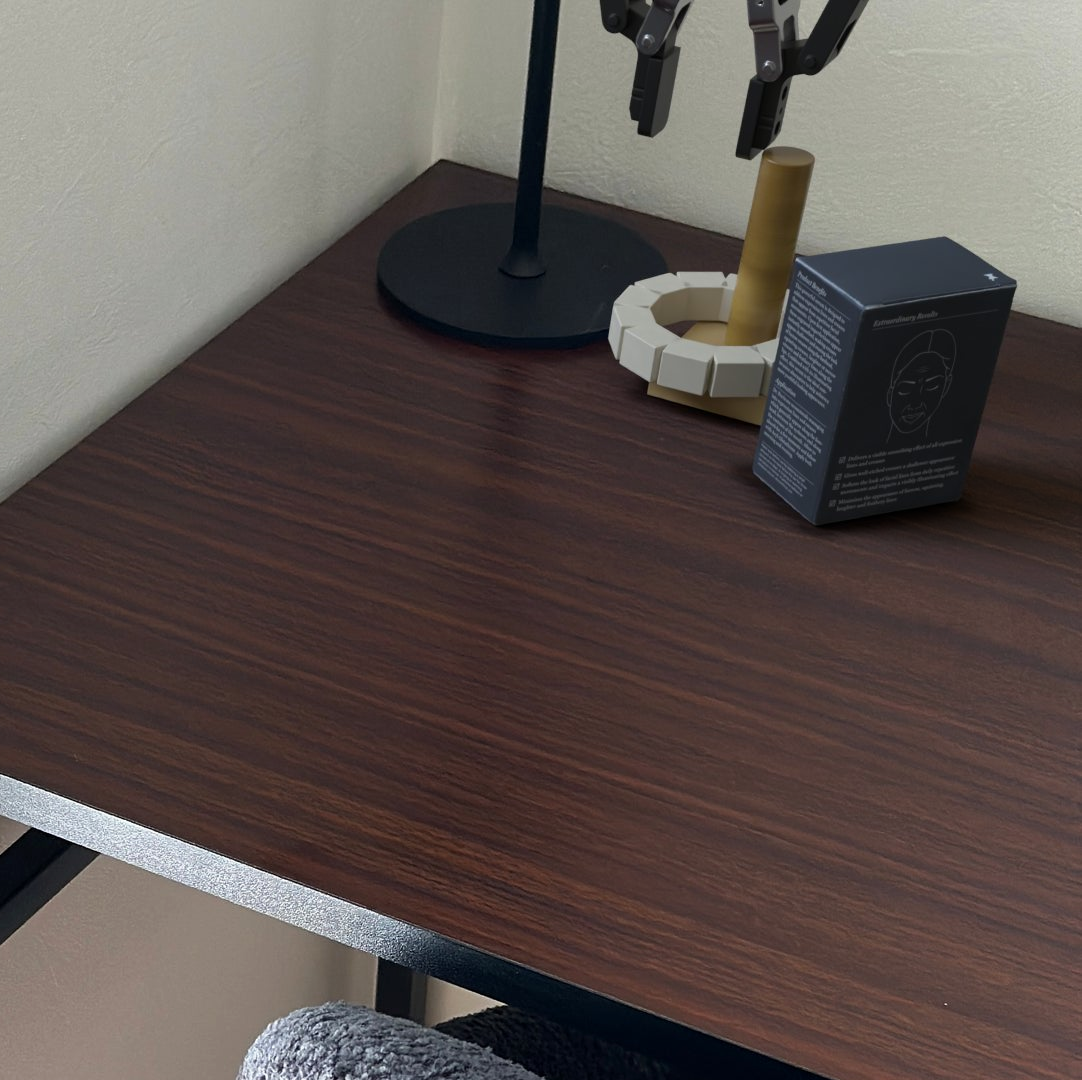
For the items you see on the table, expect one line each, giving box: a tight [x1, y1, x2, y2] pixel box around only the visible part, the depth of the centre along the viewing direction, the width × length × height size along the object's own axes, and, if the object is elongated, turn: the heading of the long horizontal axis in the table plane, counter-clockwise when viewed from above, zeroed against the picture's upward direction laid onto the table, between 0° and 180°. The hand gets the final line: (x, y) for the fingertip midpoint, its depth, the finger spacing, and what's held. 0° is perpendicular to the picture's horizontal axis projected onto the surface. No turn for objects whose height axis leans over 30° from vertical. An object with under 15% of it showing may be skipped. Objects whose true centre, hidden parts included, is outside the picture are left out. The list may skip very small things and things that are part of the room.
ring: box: [607, 271, 790, 397], centre depth 115 cm, size 10×10×2 cm
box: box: [751, 235, 1018, 526], centre depth 105 cm, size 8×6×11 cm
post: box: [646, 145, 816, 427], centre depth 112 cm, size 7×7×12 cm
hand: (699, 140), depth 110 cm, fingers open, 4 cm apart
